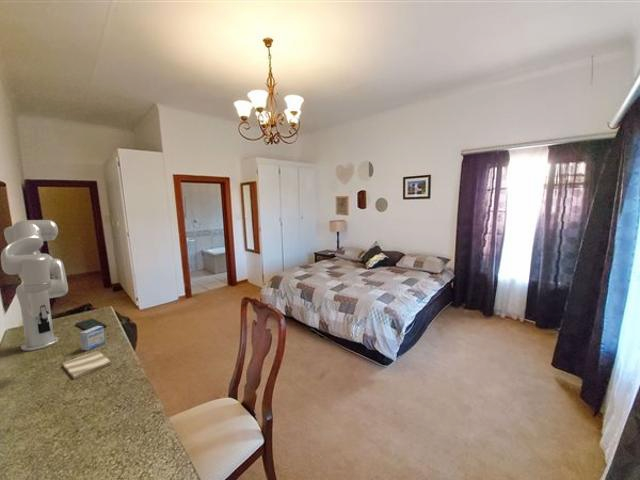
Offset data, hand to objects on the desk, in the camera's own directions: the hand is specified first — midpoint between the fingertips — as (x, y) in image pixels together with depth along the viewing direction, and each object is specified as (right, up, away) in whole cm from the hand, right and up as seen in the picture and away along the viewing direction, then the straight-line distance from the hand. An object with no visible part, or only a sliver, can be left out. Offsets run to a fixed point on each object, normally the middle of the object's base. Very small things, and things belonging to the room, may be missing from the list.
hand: (42, 330), depth 109 cm
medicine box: (+4, -15, +19) cm, 25 cm away
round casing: (0, -1, 0) cm, 1 cm away
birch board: (+15, -16, +3) cm, 22 cm away
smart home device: (-17, -13, +42) cm, 47 cm away
